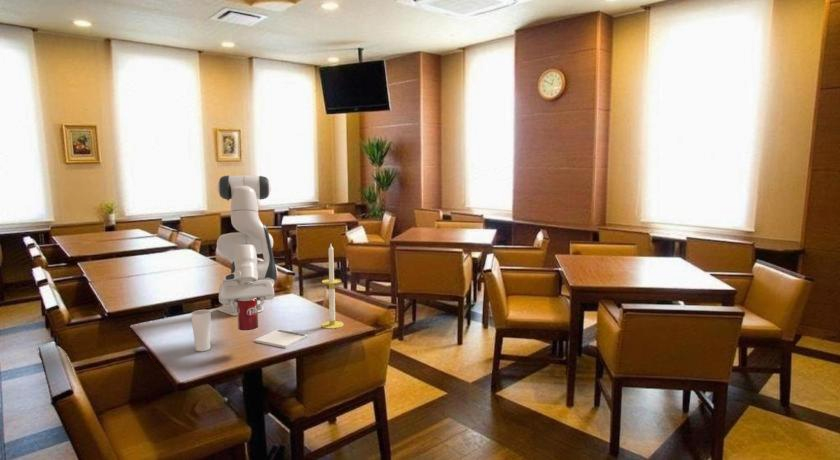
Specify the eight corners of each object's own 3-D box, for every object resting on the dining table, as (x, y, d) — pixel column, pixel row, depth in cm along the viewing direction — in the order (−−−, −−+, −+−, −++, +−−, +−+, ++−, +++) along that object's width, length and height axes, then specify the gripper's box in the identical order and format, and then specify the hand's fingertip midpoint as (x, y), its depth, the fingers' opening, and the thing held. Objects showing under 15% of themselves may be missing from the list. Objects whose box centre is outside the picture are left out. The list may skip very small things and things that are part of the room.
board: (254, 341, 197) (254, 339, 197) (278, 331, 210) (278, 328, 209) (285, 348, 190) (285, 345, 190) (308, 337, 203) (308, 334, 203)
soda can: (234, 331, 182) (233, 300, 181) (244, 325, 189) (243, 295, 188) (252, 332, 181) (251, 301, 180) (261, 326, 188) (260, 296, 187)
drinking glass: (205, 353, 185) (203, 315, 183) (189, 352, 186) (187, 314, 184) (216, 347, 191) (214, 310, 189) (200, 345, 193) (198, 309, 191)
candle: (337, 320, 225) (335, 240, 220) (347, 326, 217) (346, 243, 212) (317, 324, 219) (315, 242, 214) (327, 330, 211) (325, 245, 206)
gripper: (273, 281, 197) (276, 311, 190) (219, 285, 191) (219, 316, 183) (274, 273, 193) (276, 304, 185) (218, 276, 186) (218, 309, 178)
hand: (247, 310), depth 184 cm, fingers closed on soda can, 7 cm apart
